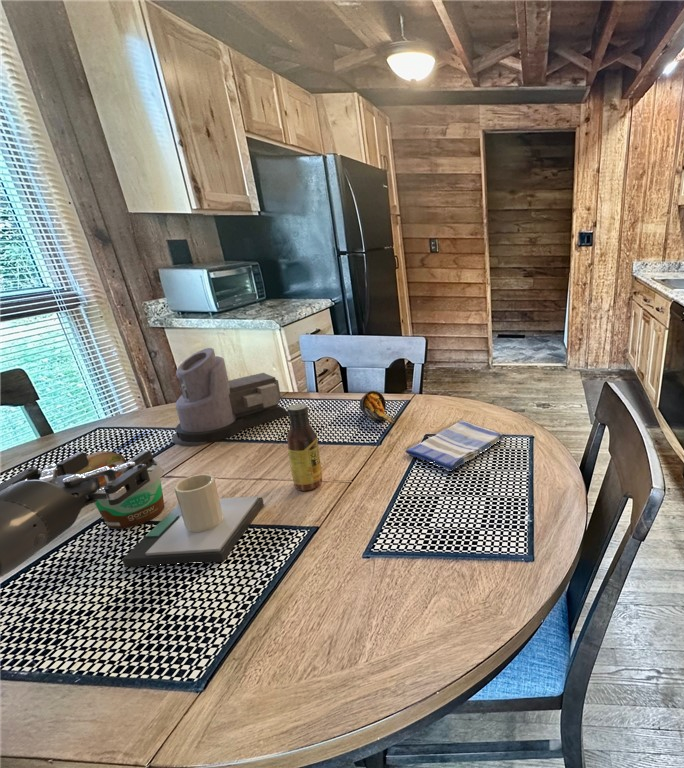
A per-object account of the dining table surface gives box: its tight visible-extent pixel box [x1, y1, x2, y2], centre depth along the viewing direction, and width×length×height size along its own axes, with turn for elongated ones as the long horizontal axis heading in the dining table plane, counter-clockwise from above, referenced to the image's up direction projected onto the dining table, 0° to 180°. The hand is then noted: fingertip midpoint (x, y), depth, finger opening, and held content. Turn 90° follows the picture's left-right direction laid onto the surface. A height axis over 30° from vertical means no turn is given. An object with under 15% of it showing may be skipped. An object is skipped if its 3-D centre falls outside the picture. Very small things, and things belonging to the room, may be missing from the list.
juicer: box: [171, 347, 289, 447], centre depth 123 cm, size 30×16×24 cm, turn 145°
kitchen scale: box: [121, 496, 264, 568], centre depth 81 cm, size 16×17×3 cm
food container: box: [93, 459, 165, 530], centre depth 84 cm, size 12×6×10 cm, turn 160°
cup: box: [174, 473, 223, 532], centre depth 80 cm, size 6×6×9 cm
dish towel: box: [405, 420, 505, 470], centre depth 118 cm, size 17×24×3 cm
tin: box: [75, 451, 127, 486], centre depth 91 cm, size 15×3×8 cm, turn 161°
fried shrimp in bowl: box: [359, 390, 396, 424], centre depth 133 cm, size 9×11×18 cm
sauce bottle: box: [286, 403, 323, 492], centre depth 95 cm, size 7×6×20 cm
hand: (117, 457), depth 60 cm, fingers open, 8 cm apart
